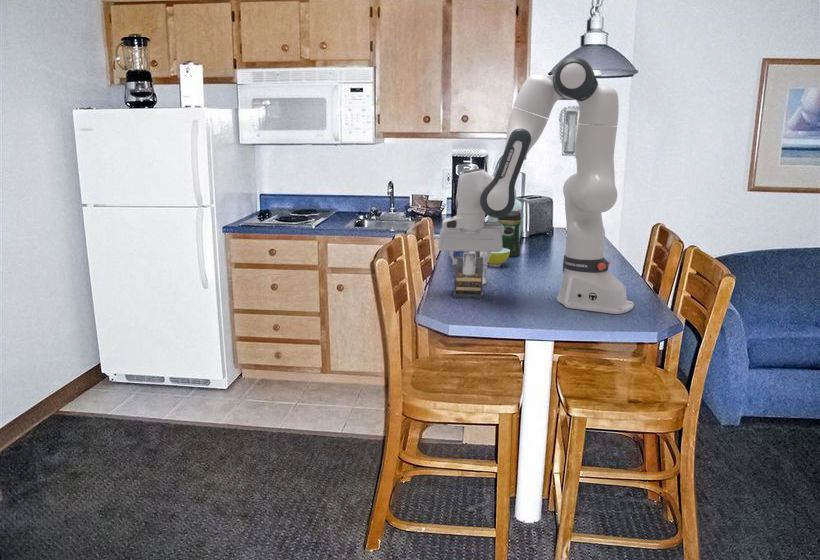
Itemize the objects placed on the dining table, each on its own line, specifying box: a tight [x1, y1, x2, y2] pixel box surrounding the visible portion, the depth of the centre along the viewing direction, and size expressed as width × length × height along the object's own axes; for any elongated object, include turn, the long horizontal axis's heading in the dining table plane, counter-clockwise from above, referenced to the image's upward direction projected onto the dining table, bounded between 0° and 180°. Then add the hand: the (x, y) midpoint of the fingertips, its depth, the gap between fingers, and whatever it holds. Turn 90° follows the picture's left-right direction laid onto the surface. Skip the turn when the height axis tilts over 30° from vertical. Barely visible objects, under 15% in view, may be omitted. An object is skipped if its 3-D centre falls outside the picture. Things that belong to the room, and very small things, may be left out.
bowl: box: [488, 248, 510, 268], centre depth 248 cm, size 11×12×6 cm
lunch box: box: [486, 198, 523, 242], centre depth 300 cm, size 27×10×21 cm, turn 10°
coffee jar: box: [497, 211, 521, 258], centre depth 266 cm, size 10×8×19 cm
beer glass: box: [468, 251, 489, 286], centre depth 220 cm, size 7×7×15 cm
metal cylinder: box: [462, 252, 476, 292], centre depth 206 cm, size 4×4×12 cm
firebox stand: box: [453, 256, 484, 299], centre depth 206 cm, size 9×9×11 cm
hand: (469, 265), depth 205 cm, fingers open, 8 cm apart
